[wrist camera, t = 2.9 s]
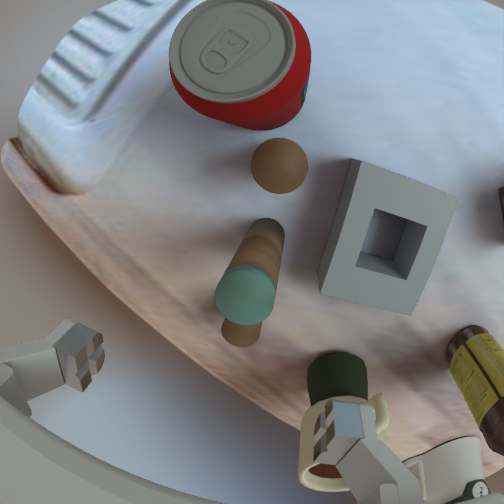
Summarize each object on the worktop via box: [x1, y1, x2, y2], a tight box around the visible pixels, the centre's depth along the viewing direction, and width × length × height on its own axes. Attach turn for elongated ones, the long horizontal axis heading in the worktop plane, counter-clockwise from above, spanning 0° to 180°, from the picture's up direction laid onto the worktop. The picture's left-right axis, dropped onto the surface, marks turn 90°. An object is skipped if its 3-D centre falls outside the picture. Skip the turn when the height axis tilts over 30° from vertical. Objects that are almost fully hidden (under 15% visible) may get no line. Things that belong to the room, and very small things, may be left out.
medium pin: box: [251, 138, 308, 194], centre depth 19 cm, size 3×3×8 cm
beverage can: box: [169, 0, 311, 130], centre depth 16 cm, size 7×7×12 cm
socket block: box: [317, 158, 458, 316], centre depth 22 cm, size 10×8×4 cm
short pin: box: [221, 318, 262, 347], centre depth 25 cm, size 3×3×5 cm
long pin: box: [215, 218, 285, 325], centre depth 20 cm, size 3×3×11 cm
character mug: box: [298, 353, 390, 492], centre depth 23 cm, size 11×7×13 cm, turn 156°
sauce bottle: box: [446, 325, 504, 456], centre depth 17 cm, size 6×6×20 cm
